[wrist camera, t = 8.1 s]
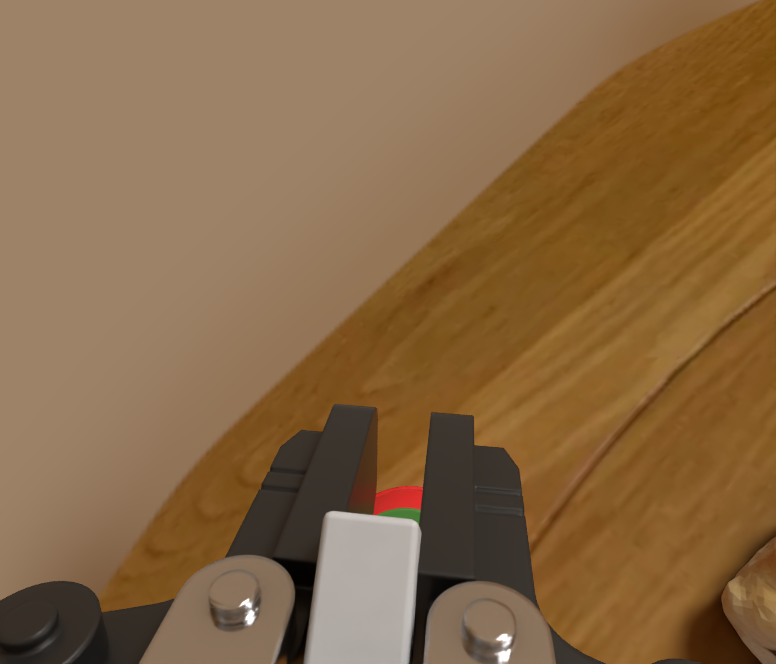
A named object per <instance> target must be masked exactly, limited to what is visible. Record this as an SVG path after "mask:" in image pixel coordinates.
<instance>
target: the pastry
mask: <svg viewBox="0 0 776 664" xmlns="http://www.w3.org/2000/svg"><path fill="white" fill-rule="evenodd" d="M721 601H722V606H723V611H724V613H725V615H726V617H727V618H728V620H729V621H730V623H731V624H732V626H733V627H734V629H735V630H736V632H737V633H738V635H739V636H740V638H741V640H742V641H743V642H744V644H745V645H746V646H747V647H748V648H749V650H750V651H751V652H752V653H753V654H754V655H755V656H756V657H757V658H758V659H759V661H760V662H761V663H762V664H776V537H774V538H772V539H771V540H770V541H769V542H768V543H767V544H766V545H765V546H764V547H763V548H761V549H760V550H759V551H757V553H756V554H755V555H754V556H753V557H752V559H751V560H750V561H749V562H748V563H747V564H746V565H745V566H744V567H743V568H741V569H740V571H739V572H738V573H737V574H736V576H735V578H734V579H733V580H731V581H729V582H728V584H727V585H726V587H725V589H724V592H723V594H722V596H721Z"/></svg>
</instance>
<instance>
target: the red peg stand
mask: <svg viewBox="0 0 776 664" xmlns="http://www.w3.org/2000/svg"><path fill="white" fill-rule="evenodd" d="M422 493H423V487H417V486H404V487H396V488H392V489H388V490H385V491H382V492H379V493H377V494H376V498H375V506H374V513H373V515H367V514H357V513H348V512H338V511H331V512H327V513H326V514H325V516H324V518H323V523H322V530H321V538H320V545H319V552H318V559H317V567H316V574H315V581H314V589H313V596H312V603H311V610H310V618H309V625H308V632H307V639H306V647H305V654H304V661H303V664H412V660H413V643H414V625H415V607H416V589H417V572H418V563H419V553H420V543H421V530H420V527H419V520H420V511H421V502H422Z"/></svg>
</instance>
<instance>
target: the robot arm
mask: <svg viewBox="0 0 776 664" xmlns="http://www.w3.org/2000/svg"><path fill="white" fill-rule="evenodd" d="M377 429H378V414H377V408H376V407H364V406H352V405H340V404H335V405H334V406H333V408H332V410H331V413H330V415H329V418H328V420H327V422H326V425H325V427H324V430H323V432H318V431H307V430H301V431H300V432H298V433H297V434H296V435H295V436H293V437H292V438H291V439H290V440H288V441H287V442H286V443H285V444H283V445H282V446H281V447H280V449H279V451H278V453H277V455H276V457H275V459H274V461H273V463H272V465H271V467H270V472H268V473H267V475H266V477H265V479H264V481H263V483H262V487H261V490H260V489H259V491H258V493H257V495H256V497H255V499H254V501H253V503H252V505H251V507H250V509H249V511H248V513H247V515H246V517H245V519H244V521H243V523H242V525H241V527H240V529H239V531H238V533H237V535H236V537H235V539H234V541H233V543H232V545H231V547H230V549H229V551H228V553H227V555H226V557H225V558H223V559H220V560H217V561H215V562H213V563H211V564H209V565H207V566H205V567H204V568H202V569H200V570H199V571H198V572H196V573H195V574H194V575H193V576H192V577H190V578H189V580H188V581H187V582H186V583H185V584H184V585H183V587H182V588H181V590H180V591H179V593H178V594H177V596H176V598H175V599H172V600H169V601H165V602H161V603H157V604H152V605H146V606H139V607H133V608H127V609H121V610H115V611H109V612H101V608H100V604H99V600H98V598H97V596H96V595H95V593H94V592H93V591H92V590H90V589H89V588H88V587H86V586H84V585H82V584H79V583H75V582H68V581H54V582H47V583H42V584H38V585H34V586H31V587H28V588H25V589H23V590H21V591H18V592H16V593H14V594H12V595H10V596H8V597H6V598H4V599H2V600H1V601H0V664H303V661H304V654H305V647H306V639H307V632H308V625H309V618H310V610H311V603H312V596H313V589H314V581H315V574H316V567H317V559H318V552H319V545H320V538H321V530H322V523H323V518H324V516H325V514H326V513H327V512H331V511H338V512H348V513H357V514H367V515H373V513H374V506H375V498H376V485H377ZM419 527H420V530H421V543H420V553H419V563H418V572H417V589H416V607H415V625H414V643H413V660H412V664H605V663H603V662H601V661H598V660H596V659H594V658H592V657H590V656H587V655H585V654H583V653H582V652H580V651H579V650H577V649H575V648H574V647H572V646H571V645H570V644H568V643H567V642H566V641H565V640H563V639H562V638H561V637H560V636H559V635H558V634H557V633H556V632H555V631H554V630H553V629H552V628H551V626H550V625H549V624H548V622H547V621H546V619H545V618H544V616H543V615H542V613H541V611H540V609H539V606H538V604H537V600H536V596H535V589H534V582H533V574H532V566H531V558H530V551H529V543H528V535H527V527H526V519H525V516H524V504H523V496H522V488H521V481H520V473H519V468H518V467H517V465H516V464H515V463H514V461H513V460H512V459H511V457H510V456H509V455H508V453H507V452H506V451H505V449H504V448H498V447H487V446H476V445H474V416H472V415H460V414H448V413H436V412H431V419H430V429H429V438H428V447H427V456H426V465H425V474H424V483H423V493H422V502H421V511H420V520H419ZM652 664H703V663H699V662H696V661H692V660H685V659H665V660H660V661H657V662H655V663H652Z"/></svg>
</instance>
